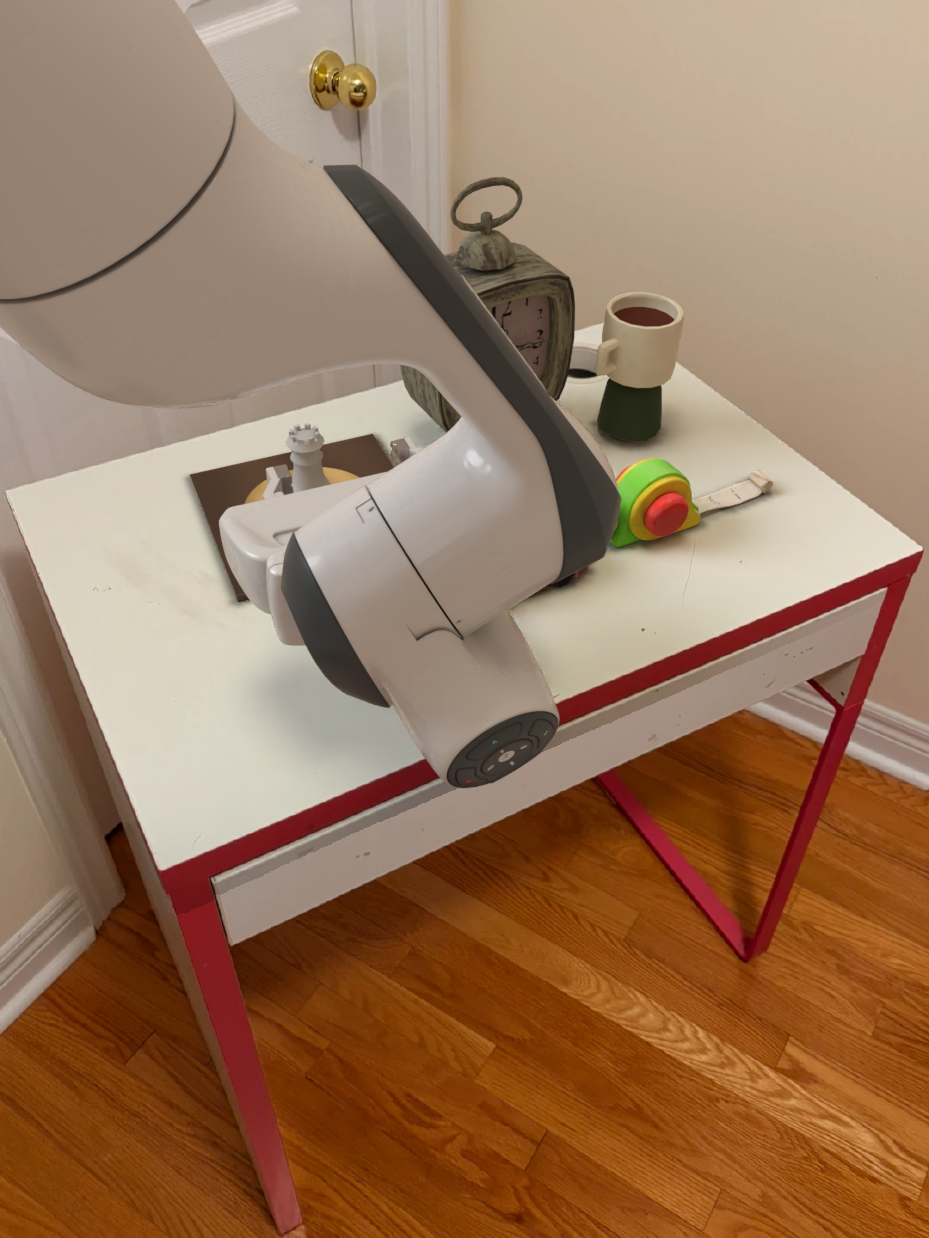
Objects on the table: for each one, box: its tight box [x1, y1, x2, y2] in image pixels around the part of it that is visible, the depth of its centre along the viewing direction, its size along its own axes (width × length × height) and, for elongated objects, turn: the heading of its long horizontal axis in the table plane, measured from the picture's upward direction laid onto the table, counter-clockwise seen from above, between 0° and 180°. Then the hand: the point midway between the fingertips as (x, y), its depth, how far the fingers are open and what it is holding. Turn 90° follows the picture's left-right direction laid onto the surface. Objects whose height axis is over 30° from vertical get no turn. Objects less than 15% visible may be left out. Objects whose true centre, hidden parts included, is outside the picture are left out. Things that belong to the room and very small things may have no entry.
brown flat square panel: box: [189, 433, 395, 602], centre depth 94 cm, size 18×18×1 cm
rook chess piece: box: [285, 423, 331, 493], centre depth 91 cm, size 4×4×8 cm
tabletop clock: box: [400, 176, 576, 434], centre depth 95 cm, size 14×9×25 cm, turn 120°
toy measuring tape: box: [610, 457, 774, 548], centre depth 92 cm, size 6×19×7 cm, turn 117°
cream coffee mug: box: [594, 291, 685, 443], centre depth 100 cm, size 11×7×13 cm, turn 128°
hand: (339, 459), depth 77 cm, fingers open, 8 cm apart
